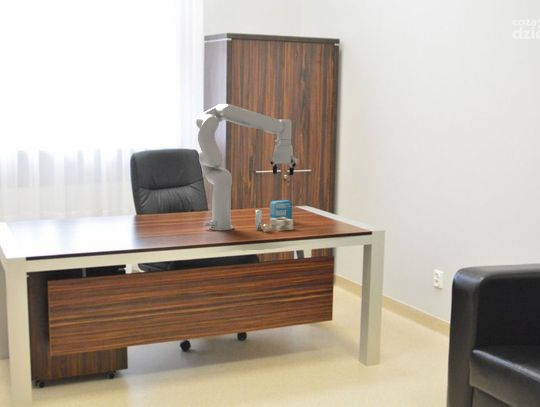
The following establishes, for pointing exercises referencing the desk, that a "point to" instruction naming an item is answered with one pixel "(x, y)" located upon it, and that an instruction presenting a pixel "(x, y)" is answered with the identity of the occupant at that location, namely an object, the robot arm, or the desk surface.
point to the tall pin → (258, 219)
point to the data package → (281, 209)
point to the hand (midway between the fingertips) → (283, 174)
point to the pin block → (281, 224)
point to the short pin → (266, 228)
